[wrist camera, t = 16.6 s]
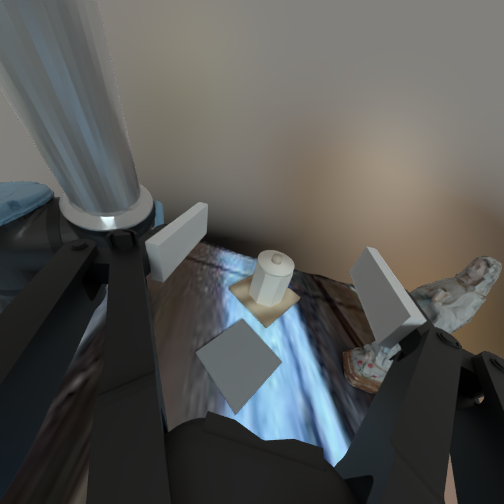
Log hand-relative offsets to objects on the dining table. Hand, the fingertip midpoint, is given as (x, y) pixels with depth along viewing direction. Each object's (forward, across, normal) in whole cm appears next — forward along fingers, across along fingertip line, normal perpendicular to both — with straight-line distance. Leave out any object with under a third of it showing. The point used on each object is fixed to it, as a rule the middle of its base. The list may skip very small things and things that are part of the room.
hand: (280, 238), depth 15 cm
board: (+22, +3, -30) cm, 37 cm away
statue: (+8, +25, -30) cm, 40 cm away
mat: (+4, 0, -30) cm, 30 cm away
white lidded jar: (+22, +3, -29) cm, 36 cm away
